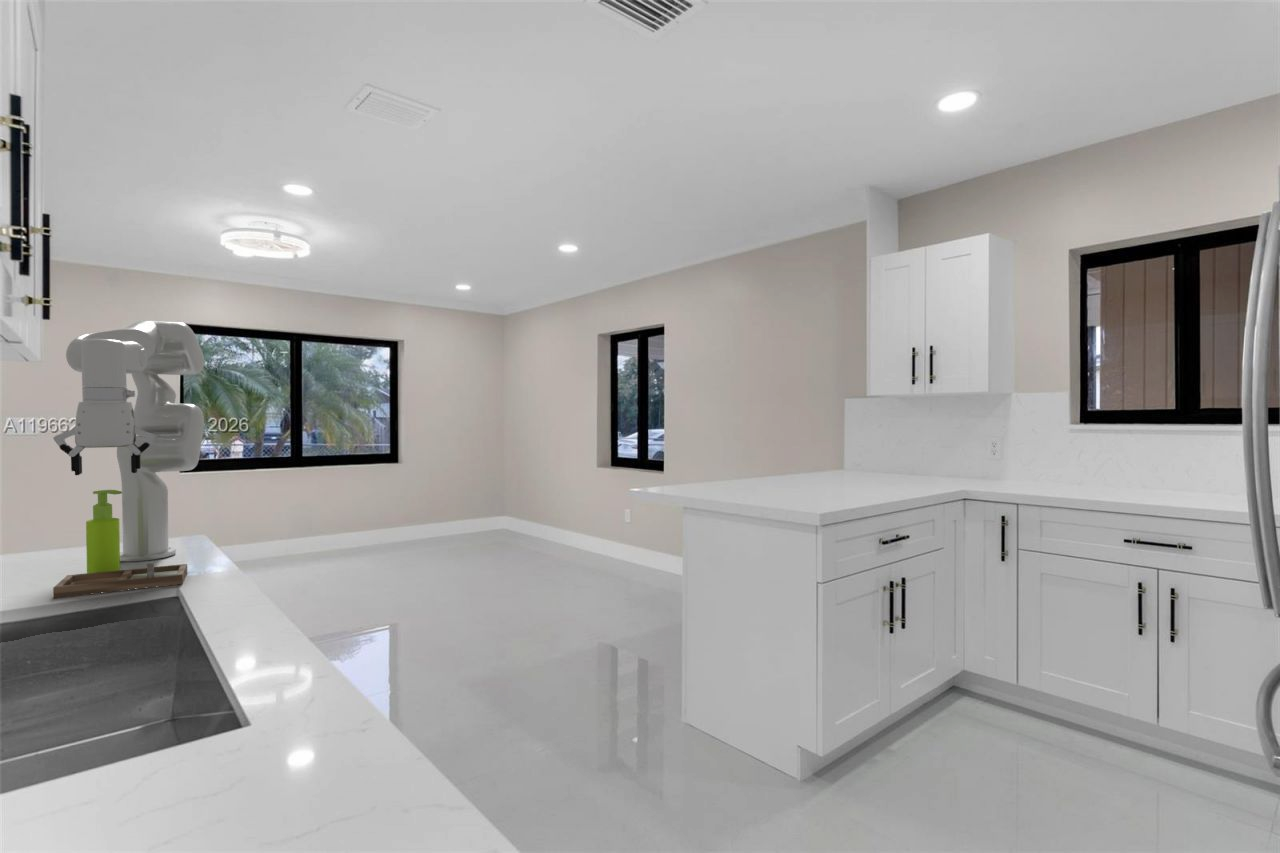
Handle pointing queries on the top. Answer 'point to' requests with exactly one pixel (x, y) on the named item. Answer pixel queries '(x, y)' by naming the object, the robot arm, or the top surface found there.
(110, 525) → the soap dispenser
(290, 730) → the top surface
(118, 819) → the top surface
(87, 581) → the wooden divided tray
